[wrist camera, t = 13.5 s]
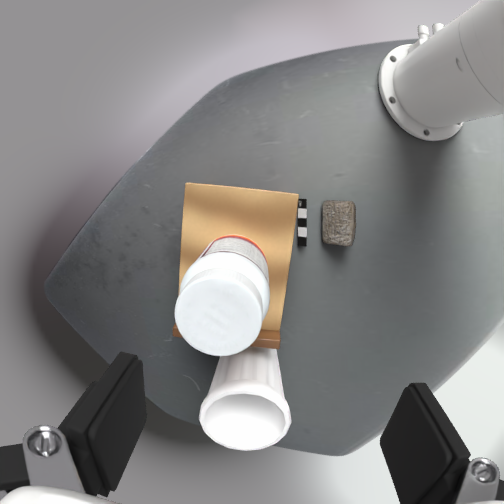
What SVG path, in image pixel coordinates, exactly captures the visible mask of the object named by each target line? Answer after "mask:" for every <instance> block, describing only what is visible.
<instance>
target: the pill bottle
mask: <svg viewBox="0 0 504 504" xmlns="http://www.w3.org/2000/svg"><path fill="white" fill-rule="evenodd" d="M269 303H270V289H269V274H268V264H267V260H266V257H265V254H264V252H263V251H262V249H261V248H260V247H259V246H258V245H257V244H256V243H255V242H254V241H253V240H251V239H249V238H247V237H244V236H241V235H234V234H232V235H225V236H221V237H219V238H217V239H215V240H214V241H212V242H211V243H210V244H209V245H208V246H207V247H206V248H205V249H204V250H203V252H202V253H201V254H200V256H199V257H198V258H197V259H196V261H195V262H194V263H193V264H192V265H191V266H190V267H189V269H188V270H187V272H186V273H185V275H184V277H183V279H182V282H181V285H180V292H179V297H178V299H177V302H176V306H175V321H176V325H177V327H178V330H179V332H180V333H181V335H182V337H183V338H184V339H185V340H186V341H187V342H188V343H189V344H190V345H191V346H192V347H194V348H195V349H197V350H199V351H201V352H203V353H206V354H209V355H213V356H229V355H234V354H237V353H239V352H241V351H243V350H245V349H246V348H248V347H249V346H250V345H251V344H252V343H253V342H254V341H255V340H256V338H257V336H258V335H259V333H260V330H261V326H262V321H263V320H264V318H265V316H266V314H267V311H268V308H269Z"/></svg>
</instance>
